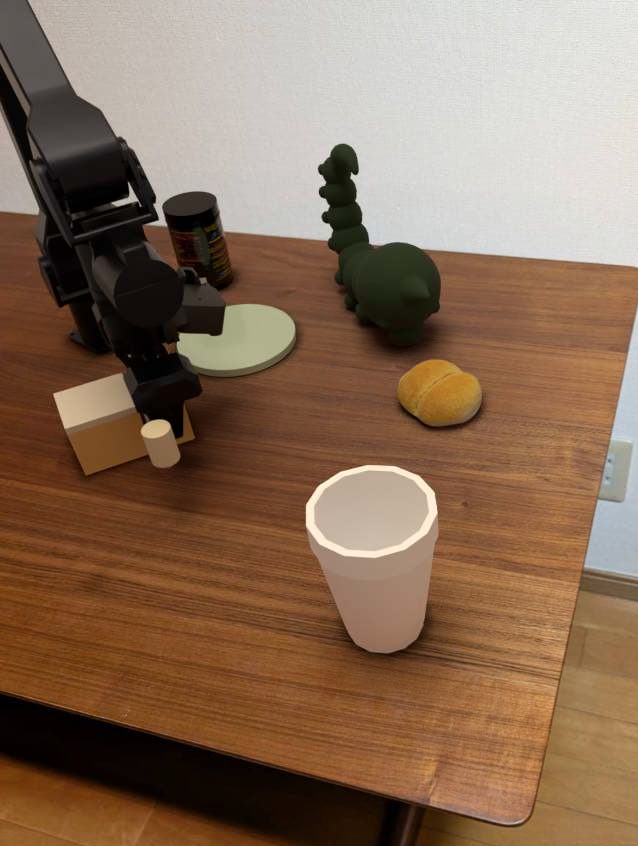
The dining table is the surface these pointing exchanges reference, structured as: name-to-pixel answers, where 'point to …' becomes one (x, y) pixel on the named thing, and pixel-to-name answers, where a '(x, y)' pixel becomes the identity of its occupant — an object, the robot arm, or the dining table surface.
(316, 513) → the foam cup
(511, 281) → the dining table surface
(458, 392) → the bread roll
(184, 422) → the cake slice
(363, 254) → the toy figurine
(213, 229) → the supplement container
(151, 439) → the knife
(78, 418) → the cake
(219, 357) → the plate
